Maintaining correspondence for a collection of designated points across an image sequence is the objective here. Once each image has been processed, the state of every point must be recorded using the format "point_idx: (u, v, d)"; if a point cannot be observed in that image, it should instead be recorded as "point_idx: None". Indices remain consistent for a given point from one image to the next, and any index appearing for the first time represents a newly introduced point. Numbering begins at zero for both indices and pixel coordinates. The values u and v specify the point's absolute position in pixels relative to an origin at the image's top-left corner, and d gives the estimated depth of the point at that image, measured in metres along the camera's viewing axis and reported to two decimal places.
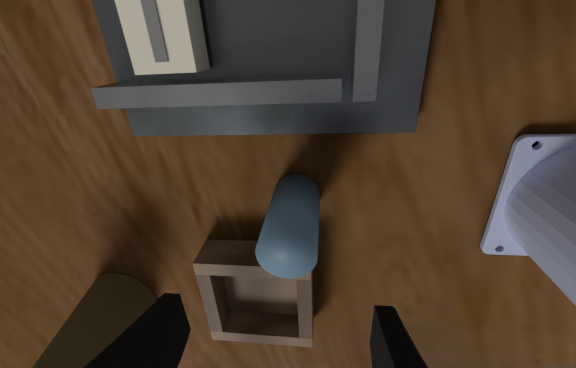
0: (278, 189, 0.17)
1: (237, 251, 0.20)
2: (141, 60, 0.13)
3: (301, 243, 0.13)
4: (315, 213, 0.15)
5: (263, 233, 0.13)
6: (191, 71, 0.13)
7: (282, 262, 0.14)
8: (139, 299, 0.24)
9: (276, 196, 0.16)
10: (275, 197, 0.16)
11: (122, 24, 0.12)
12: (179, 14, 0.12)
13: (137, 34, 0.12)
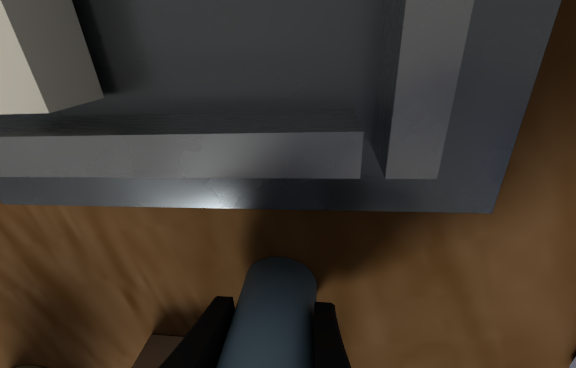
0: (247, 291, 0.10)
1: None
2: None
3: None
4: (307, 355, 0.09)
5: None
6: (37, 111, 0.06)
7: None
8: None
9: (241, 312, 0.10)
10: (239, 314, 0.09)
11: None
12: None
13: None
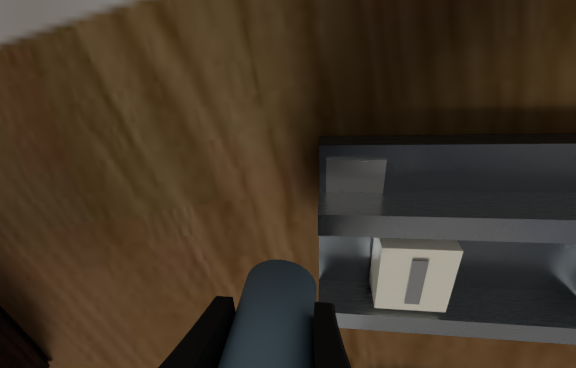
0: (245, 296, 0.10)
1: None
2: (387, 299, 0.12)
3: None
4: (305, 356, 0.09)
5: None
6: (439, 311, 0.12)
7: None
8: None
9: (239, 316, 0.10)
10: (237, 318, 0.10)
11: (380, 273, 0.12)
12: (449, 272, 0.11)
13: (393, 281, 0.12)
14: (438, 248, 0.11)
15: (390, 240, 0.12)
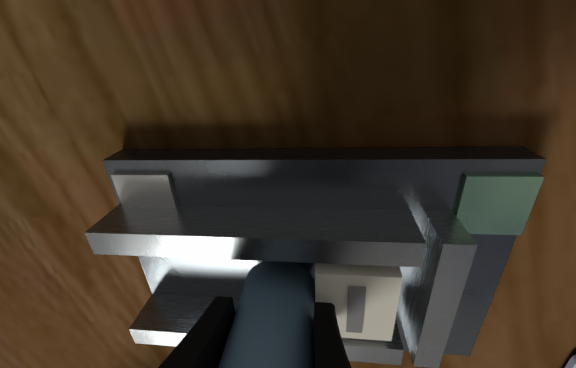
0: (245, 295, 0.10)
1: None
2: None
3: None
4: (306, 354, 0.09)
5: None
6: (385, 339, 0.11)
7: None
8: None
9: (239, 316, 0.10)
10: (238, 318, 0.10)
11: (317, 300, 0.11)
12: (390, 300, 0.10)
13: None
14: (376, 274, 0.10)
15: (327, 264, 0.11)
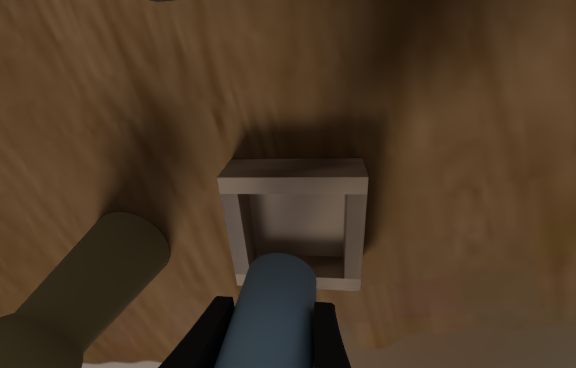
0: (246, 287, 0.10)
1: (270, 166, 0.16)
2: None
3: None
4: (306, 345, 0.09)
5: None
6: None
7: None
8: (149, 241, 0.20)
9: (240, 306, 0.10)
10: (239, 307, 0.10)
11: None
12: None
13: None
14: None
15: None
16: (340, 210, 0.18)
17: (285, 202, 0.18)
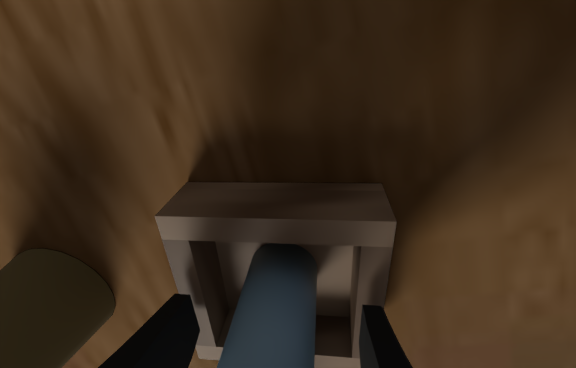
0: (252, 273, 0.11)
1: (242, 197, 0.11)
2: None
3: None
4: (308, 326, 0.09)
5: None
6: None
7: None
8: (79, 291, 0.14)
9: (246, 291, 0.10)
10: (245, 292, 0.10)
11: None
12: None
13: None
14: None
15: None
16: (347, 257, 0.12)
17: None
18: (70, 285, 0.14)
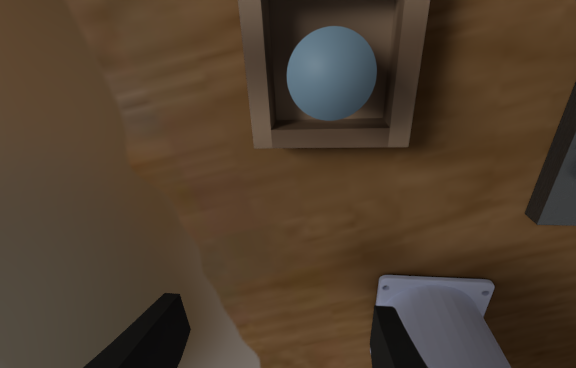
0: None
1: None
2: None
3: (353, 97, 0.10)
4: None
5: (362, 37, 0.09)
6: None
7: (316, 71, 0.10)
8: None
9: None
10: None
11: None
12: None
13: None
14: None
15: None
16: None
17: None
18: None
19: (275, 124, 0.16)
